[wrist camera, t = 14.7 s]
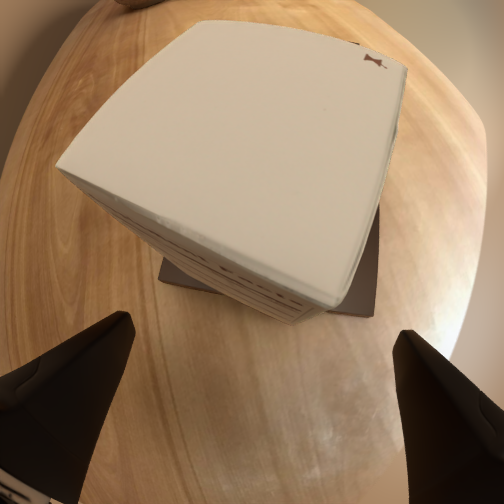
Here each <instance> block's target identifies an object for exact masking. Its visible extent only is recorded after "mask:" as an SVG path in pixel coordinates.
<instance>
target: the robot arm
mask: <svg viewBox="0 0 504 504" xmlns="http://www.w3.org/2000/svg"><path fill="white" fill-rule="evenodd" d="M135 334H136V332H135V327H134V324H133V321H132V318H131V315H130V314H129V313H128V312H125V311H116V312H115V313H113V314H111V315H109V316H108V317H106V318H104V319H102V320H101V321H99V322H97V323H95V324H94V325H92V326H90V327H89V328H87V329H85V330H83V331H82V332H80V333H78V334H77V335H75V336H73V337H71V338H70V339H68V340H66V341H65V342H63V343H61V344H59V345H58V346H56V347H54V348H53V349H51V350H49V351H48V352H46V353H44V354H42V355H41V356H39V357H37V358H36V359H34V360H32V361H31V362H29V363H27V364H25V365H24V366H22V367H20V368H18V369H16V370H14V371H12V372H10V373H8V374H6V375H4V376H2V377H0V504H52V503H51V502H50V499H51V498H53V499H55V500H57V501H59V502H61V503H63V504H78V501H79V497H80V494H81V490H82V487H83V483H84V480H85V477H86V474H87V470H88V467H89V464H90V461H91V457H92V454H93V452H94V449H95V446H96V443H97V440H98V437H99V434H100V432H101V429H102V426H103V423H104V421H105V418H106V415H107V413H108V410H109V408H110V405H111V402H112V400H113V397H114V395H115V392H116V390H117V388H118V385H119V383H120V380H121V378H122V375H123V373H124V370H125V367H126V364H127V360H128V357H129V354H130V351H131V348H132V344H133V341H134V338H135ZM392 354H393V363H394V372H395V383H396V393H397V399H398V405H399V410H400V416H401V422H402V429H403V436H404V444H405V452H406V461H407V472H408V485H409V504H504V411H503V410H502V409H501V408H500V407H498V406H497V405H496V404H495V403H494V402H493V401H492V400H491V399H490V398H488V397H487V396H486V395H485V394H484V393H483V392H482V391H480V389H479V388H478V387H477V386H476V385H475V384H473V383H472V382H471V381H470V380H469V379H468V378H467V377H466V376H465V375H464V374H463V373H462V372H460V371H459V370H458V369H457V368H456V367H455V366H454V365H453V364H452V363H450V362H449V361H448V360H447V359H446V358H445V357H444V356H443V355H441V354H440V353H439V352H438V351H437V350H436V349H435V348H434V347H432V346H431V345H430V344H429V343H428V342H427V341H425V340H424V339H423V338H422V337H421V336H420V335H418V334H417V333H416V332H415V331H414V330H402V331H401V332H400V334H399V336H398V338H397V340H396V342H395V345H394V347H393V351H392Z"/></svg>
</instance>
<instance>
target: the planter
mask: <svg viewBox="0 0 504 504" xmlns="http://www.w3.org/2000/svg"><path fill="white" fill-rule="evenodd" d="M114 1H116V2H117V3H119V4H122V5H128V6H130V7H131V8H133V9H140V8H144V7H148V6H151V5H154V4H156V3H159V2H161V1H164V0H114Z"/></svg>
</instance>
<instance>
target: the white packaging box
mask: <svg viewBox="0 0 504 504" xmlns="http://www.w3.org/2000/svg"><path fill="white" fill-rule="evenodd" d="M407 71H408V69H407V67H406V66H405V65H403V64H402V63H400V62H398V61H396V60H394V59H392V58H390V57H388V56H385V55H383V54H381V53H379V52H376V51H374V50H371V49H368V48H366V47H363V46H360V45H357V44H354V43H351V42H348V41H345V40H341V39H338V38H334V37H330V36H326V35H322V34H318V33H314V32H310V31H305V30H299V29H294V28H289V27H283V26H277V25H270V24H262V23H253V22H243V21H229V20H203V21H200V22H198V23H196V24H195V25H193V26H192V27H190V28H189V29H188V30H186V31H185V32H184V33H182V34H181V35H180V36H178V37H177V38H176V39H175V40H173V41H172V42H171V43H169V44H168V45H167V46H166V47H164V48H163V49H162V50H161V51H159V52H158V53H157V54H156V55H155V56H153V57H152V58H151V59H150V60H149V61H148V62H146V63H145V64H144V65H143V66H142V67H141V68H140V69H139V70H138V71H136V72H135V73H134V74H133V75H132V76H131V77H130V78H129V79H128V80H127V81H126V82H125V83H124V84H123V85H122V86H121V87H120V88H119V89H118V90H117V91H116V92H115V93H114V94H113V95H112V96H111V97H110V98H109V99H108V100H107V101H106V102H105V103H104V105H103V106H102V107H101V108H100V109H99V110H98V111H97V112H96V114H95V115H94V116H93V117H92V118H91V119H90V121H89V122H88V123H87V124H86V125H85V126H84V128H83V129H82V130H81V131H80V132H79V134H78V135H77V136H76V137H75V139H74V140H73V141H72V143H71V144H70V145H69V147H68V148H67V149H66V151H65V152H64V153H63V155H62V156H61V157H60V159H59V160H58V161H57V163H56V168H57V169H58V170H59V171H60V172H61V173H62V174H63V175H64V176H66V177H67V178H68V179H69V180H70V181H71V182H72V183H73V184H74V185H76V186H77V187H78V188H79V189H80V190H82V191H83V192H84V193H85V194H86V195H88V196H89V197H90V198H91V199H92V200H94V201H95V202H96V203H97V204H98V205H100V206H101V207H102V208H103V209H104V210H105V211H107V212H108V213H109V214H110V215H112V216H113V217H114V218H115V219H117V220H118V221H119V222H120V223H122V224H123V225H124V226H126V227H127V228H128V229H129V230H131V231H132V232H133V233H135V234H136V235H137V236H139V237H140V238H141V239H143V240H144V241H145V242H146V243H148V244H149V245H150V246H151V247H153V248H154V249H155V250H156V251H158V252H159V253H160V254H161V255H163V256H164V257H165V258H166V259H168V260H169V261H170V262H172V263H173V264H174V265H176V266H177V267H178V268H179V269H181V270H182V271H183V272H185V273H186V274H187V275H189V276H191V277H193V278H195V279H197V280H199V281H201V282H202V283H204V284H206V285H208V286H210V287H212V288H214V289H216V290H218V291H220V292H222V293H224V294H225V295H227V296H229V297H231V298H233V299H235V300H237V301H239V302H241V303H243V304H245V305H247V306H249V307H252V308H254V309H256V310H258V311H260V312H262V313H264V314H266V315H269V316H271V317H273V318H275V319H277V320H279V321H282V322H284V323H286V324H288V325H292V326H294V325H296V324H298V323H301V322H303V321H305V320H307V319H310V318H312V317H314V316H316V315H319V314H321V313H323V312H325V311H328V310H331V309H333V308H335V307H337V306H338V305H339V304H340V303H341V302H342V301H343V299H344V297H345V296H346V294H347V292H348V290H349V287H350V285H351V282H352V280H353V277H354V274H355V272H356V269H357V267H358V264H359V261H360V259H361V256H362V253H363V251H364V248H365V245H366V241H367V238H368V235H369V232H370V229H371V226H372V223H373V220H374V217H375V214H376V210H377V207H378V204H379V200H380V197H381V193H382V190H383V186H384V183H385V179H386V175H387V172H388V168H389V164H390V160H391V156H392V152H393V149H394V145H395V142H396V138H397V134H398V123H399V118H400V112H401V107H402V101H403V96H404V90H405V83H406V77H407Z"/></svg>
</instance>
